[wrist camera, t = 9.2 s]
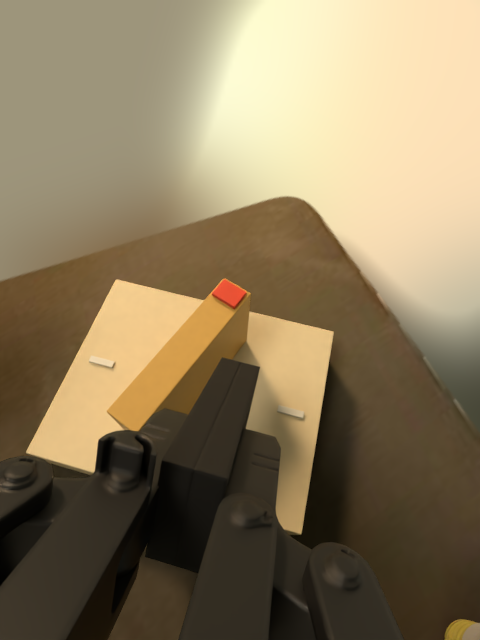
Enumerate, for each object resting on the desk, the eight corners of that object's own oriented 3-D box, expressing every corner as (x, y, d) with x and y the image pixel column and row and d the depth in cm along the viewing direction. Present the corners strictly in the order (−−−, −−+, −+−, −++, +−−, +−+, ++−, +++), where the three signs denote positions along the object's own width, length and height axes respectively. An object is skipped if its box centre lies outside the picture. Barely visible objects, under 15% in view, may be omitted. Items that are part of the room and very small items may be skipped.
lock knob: (156, 457, 19) (134, 433, 15) (132, 439, 20) (103, 409, 15) (247, 340, 22) (252, 290, 18) (224, 326, 23) (224, 274, 18)
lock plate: (44, 474, 21) (17, 464, 19) (129, 296, 27) (119, 270, 25) (289, 548, 20) (299, 550, 17) (324, 344, 26) (336, 321, 23)
